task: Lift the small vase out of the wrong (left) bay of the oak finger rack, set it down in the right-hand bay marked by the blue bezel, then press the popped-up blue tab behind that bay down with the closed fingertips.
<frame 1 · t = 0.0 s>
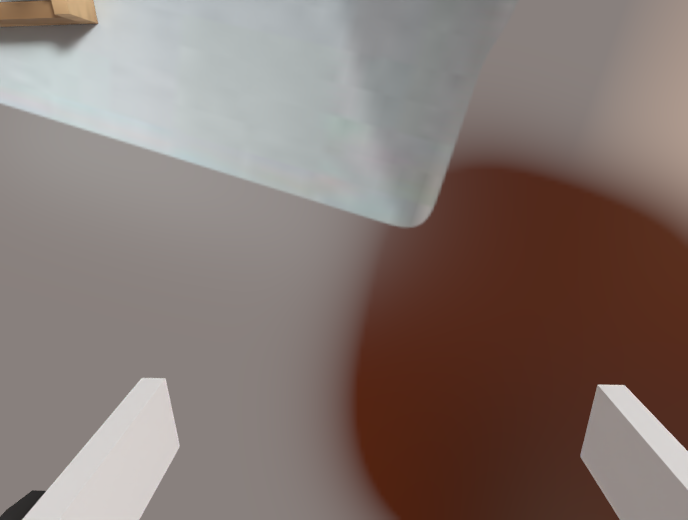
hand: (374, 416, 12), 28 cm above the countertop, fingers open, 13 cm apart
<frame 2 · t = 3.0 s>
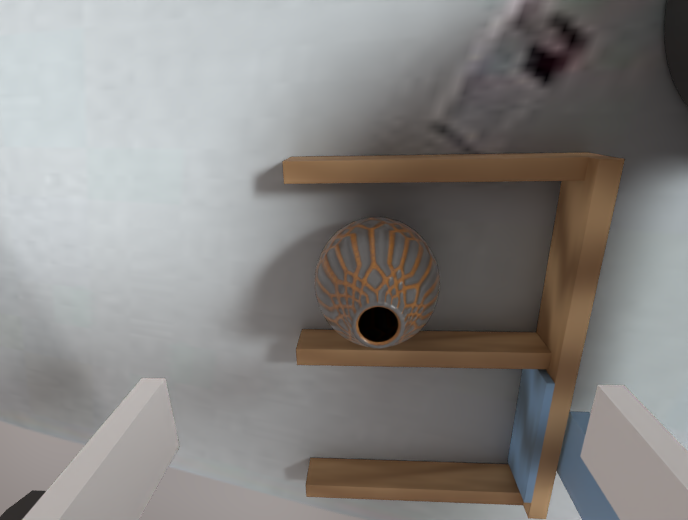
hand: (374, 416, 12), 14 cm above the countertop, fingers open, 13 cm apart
tab: (596, 481, 23), point 6 cm above the countertop, slide at 3.0 cm
vase: (375, 257, 26), on the countertop
rack: (425, 338, 28), on the countertop
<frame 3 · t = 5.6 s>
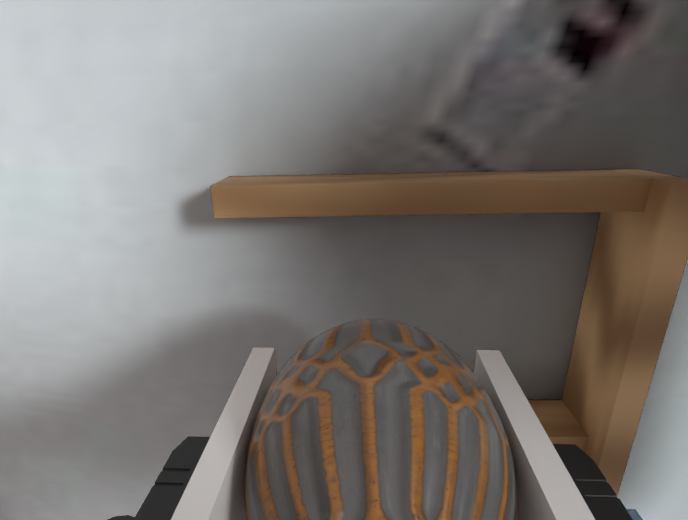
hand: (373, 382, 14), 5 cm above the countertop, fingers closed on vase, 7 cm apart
vase: (372, 372, 14), point 5 cm above the countertop, touching gripper
rack: (418, 410, 21), on the countertop
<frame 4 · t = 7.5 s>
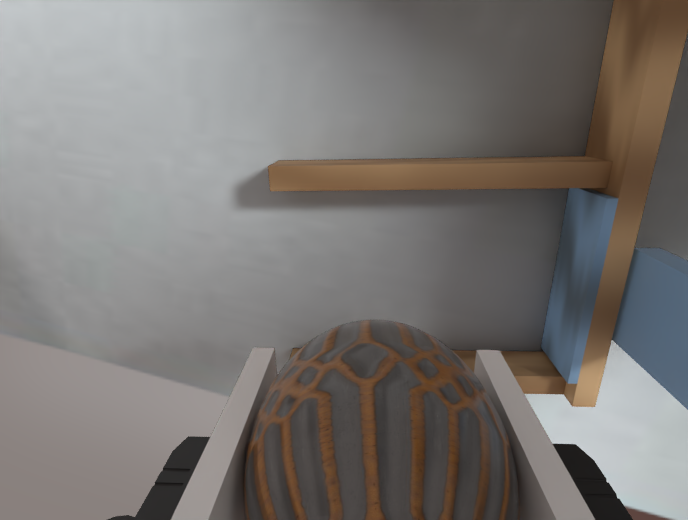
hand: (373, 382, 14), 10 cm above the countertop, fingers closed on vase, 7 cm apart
tab: (678, 325, 17), point 6 cm above the countertop, slide at 3.0 cm
vase: (372, 373, 14), point 10 cm above the countertop, touching gripper
rack: (439, 169, 21), on the countertop
when the fingers open (1 cm above the countertop, at t = 9.4 s): vase stays where it is, on the countertop.
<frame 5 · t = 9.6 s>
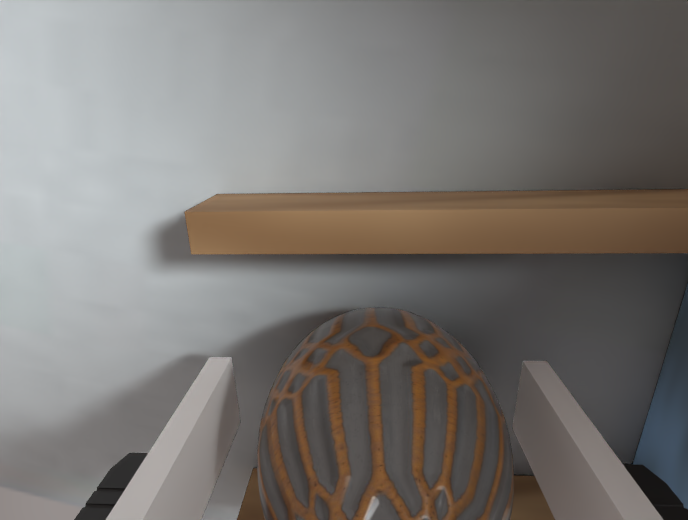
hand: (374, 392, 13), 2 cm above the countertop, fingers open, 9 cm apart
vase: (376, 359, 15), on the countertop
rack: (484, 209, 13), on the countertop
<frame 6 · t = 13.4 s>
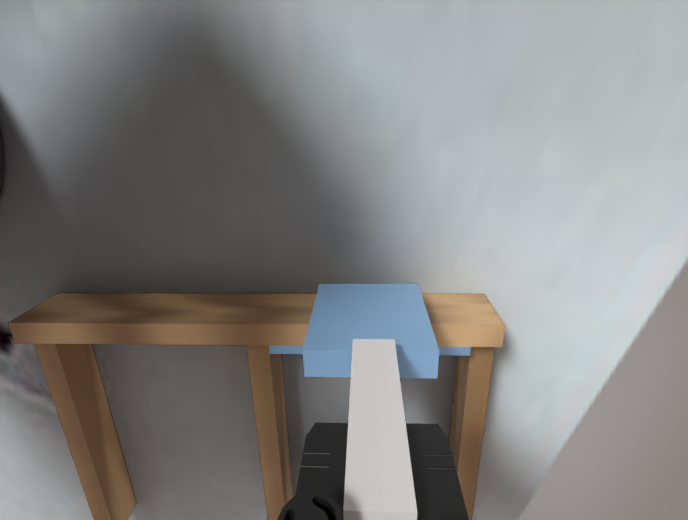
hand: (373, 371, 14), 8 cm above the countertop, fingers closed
tab: (369, 323, 18), point 5 cm above the countertop, slide at 2.0 cm, touching gripper
rack: (277, 413, 26), on the countertop
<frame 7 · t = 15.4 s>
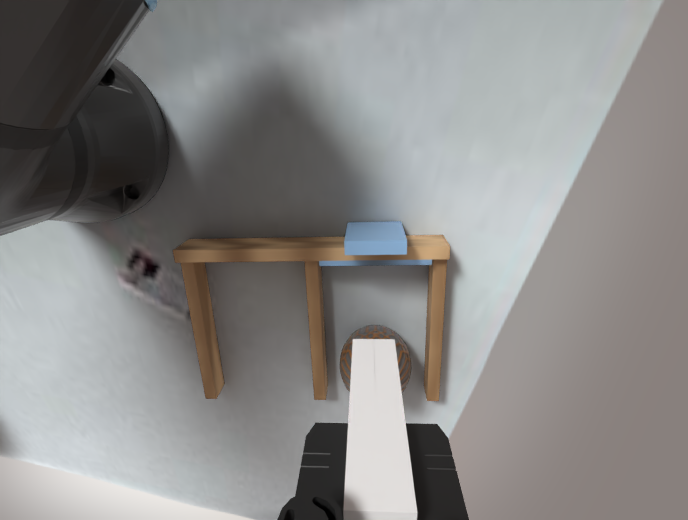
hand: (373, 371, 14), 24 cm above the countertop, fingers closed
tab: (374, 237, 35), point 3 cm above the countertop, slide at 0.4 cm
vase: (374, 342, 42), on the countertop
rack: (318, 316, 41), on the countertop
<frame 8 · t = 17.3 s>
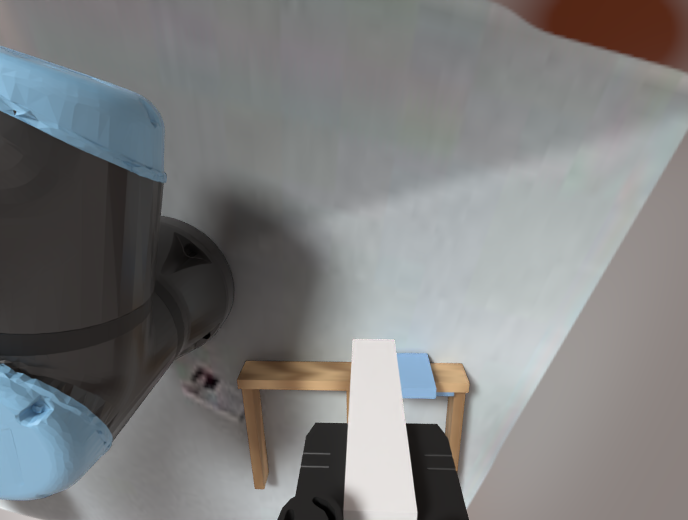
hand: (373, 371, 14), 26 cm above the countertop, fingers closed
tab: (407, 374, 42), point 3 cm above the countertop, slide at 0.4 cm
rack: (353, 421, 48), on the countertop
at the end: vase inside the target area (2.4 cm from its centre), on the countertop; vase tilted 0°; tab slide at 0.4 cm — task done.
